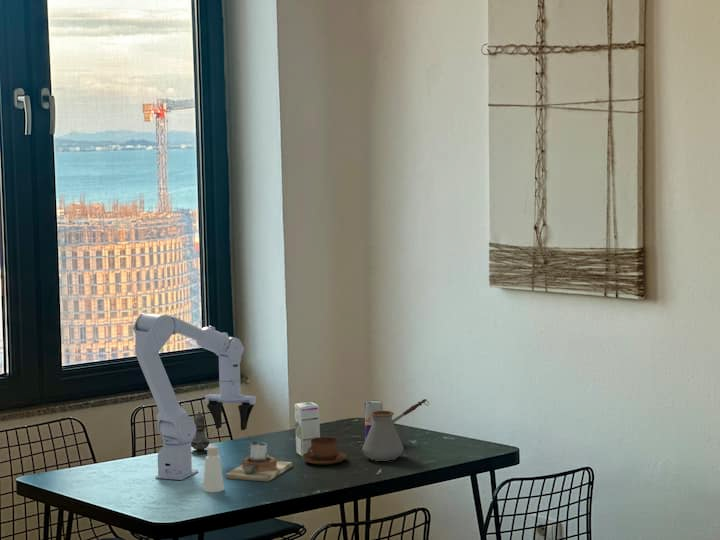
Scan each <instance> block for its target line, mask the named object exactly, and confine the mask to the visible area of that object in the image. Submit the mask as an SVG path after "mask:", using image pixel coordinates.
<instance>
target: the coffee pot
mask: <svg viewBox="0 0 720 540" xmlns="http://www.w3.org/2000/svg"><path fill="white" fill-rule="evenodd" d="M426 402H427V403H428V404H426ZM422 404H425V406H429V405H430V402H429V401H428V400H427V399H426V398H424V399H422V400H421V401H417V403H416V404H414V405H411V406H410V407H408V409H406V410H404V412H403V411H402V413H401V414H399V415H398V416H396V417H394V418H393V416H394V415H395V413H394V412H393V411H391V410H383V411H375V412H372V413H371V415H372V417H373V423H372V425H371V428H370V430H369V433H368V435H367V438H366V440H364V442H363V445H362V452H363V454H364V456H366V458H368V459H369V458H370V459H371V460H370V459H369V460H370V461H372V460H377V461H387V460H393V459H396V458H397V459H398V457H400V456H401V455H402V453H403V451H404V445H403V442H402V440H401V439H400V436H399V434H398V432H397V429H396V427H395V424H394V423H396V422H397V421H398V420H400V419H401V418H403V417H406V416H407V415H408V414H410V413H412V412H413V411H415V410H416V409H417V408H419V407H420V406H422ZM397 459H396V460H397ZM377 461H376V462H377Z"/></svg>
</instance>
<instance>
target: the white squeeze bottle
mask: <svg viewBox="0 0 720 540" xmlns="http://www.w3.org/2000/svg"><path fill="white" fill-rule="evenodd" d="M206 450H207V453H208V454H207V456H205V458H204V459H205V460H204V461H205V462H204V473H203V487H202V488H203V491H204V492H205V493H210V494H211V493H212V494H213V493H220V492H222V491H224V490H225V485H224V478H223V470H222V464H221V463H222V462H221V457H220V455H219V447H218V445H208V447H207V448H206Z"/></svg>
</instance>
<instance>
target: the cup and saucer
mask: <svg viewBox="0 0 720 540" xmlns="http://www.w3.org/2000/svg"><path fill="white" fill-rule="evenodd" d="M338 440H339V439H337V438H336V437H329V436H328V437H326V436H324V437H321V436H320V438H315V439H312V440H311V447H310V448H309V449H308V453H306V454H304V455H303V457H302V459H303V460H304V461H306V463H309V464H313V465H322V466H326V465H327V466H328V465H335V464H338V463H340V462H343V461H344V460H345V459H346V458H347V453H345V452H343V451H341V450H340V451H339V450H338V449H339V445H338ZM310 450H311V452H310Z"/></svg>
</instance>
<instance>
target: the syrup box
mask: <svg viewBox="0 0 720 540" xmlns="http://www.w3.org/2000/svg"><path fill="white" fill-rule="evenodd" d="M294 422H295V423H294V425H295V427H294V428H295V452H296V454H297V455H299V457H302V458H303V455H304V454H306V453H308V449H309V448H310V447H311V440H312V439H315V438H321V432H320V431H321V428H320V427H321V426H320V405H318V404H317V403H314V402H312V401H309V402H308V401H305V402H299V403H298V402H297V403H294ZM310 452H311V450H310Z"/></svg>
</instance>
